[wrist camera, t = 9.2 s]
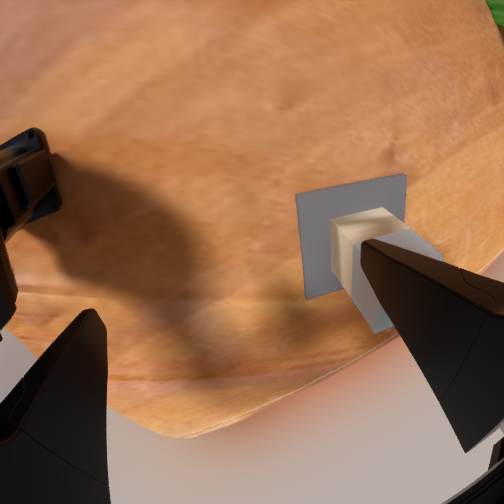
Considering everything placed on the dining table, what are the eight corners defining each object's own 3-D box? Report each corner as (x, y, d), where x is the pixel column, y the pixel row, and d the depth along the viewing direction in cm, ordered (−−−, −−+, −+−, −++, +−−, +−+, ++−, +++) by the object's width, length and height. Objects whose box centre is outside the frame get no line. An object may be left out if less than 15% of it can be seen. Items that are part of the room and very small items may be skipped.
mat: (305, 296, 27) (306, 299, 27) (295, 194, 22) (296, 196, 22) (396, 268, 28) (398, 271, 28) (403, 173, 23) (406, 174, 22)
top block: (351, 298, 22) (374, 333, 19) (352, 243, 20) (382, 276, 16) (402, 281, 23) (429, 311, 19) (410, 228, 20) (443, 255, 17)
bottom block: (331, 270, 26) (351, 298, 22) (329, 219, 23) (353, 243, 20) (379, 256, 26) (403, 281, 23) (382, 207, 23) (410, 228, 20)
